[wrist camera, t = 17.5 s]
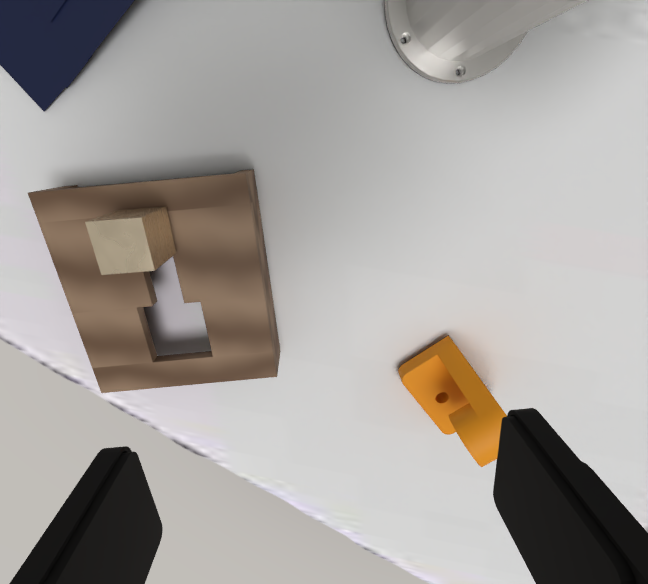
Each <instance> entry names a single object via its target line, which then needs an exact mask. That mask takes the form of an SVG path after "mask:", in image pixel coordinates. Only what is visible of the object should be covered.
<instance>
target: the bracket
mask: <svg viewBox="0 0 648 584" xmlns="http://www.w3.org/2000/svg"><path fill="white" fill-rule="evenodd" d="M398 372H399V375H400V378H401V380H402V383H403V385H404V386H405V387H406V388H407V390H408V391H409V392H410V393H411V394H412V396H413V397H414V398H415V399H416V401H417V402H418V403H419V404H420V405H421V407H422V408H423V409H424V410H425V412H426V413H427V414H428V415H429V417H430V418H431V419H432V420H433V421H434V423H435V424H436V425H437V426H438V428H439V429H440V430H441V431H442V432H443V433H444V434H453V433H455V432H457V434H458V436H459V437H460V439H461V440H462V442H463V443H464V445H465V447H466V448H467V450H468V451H469V452H470V454H471V455H472V457H473V458H474V459H475V461H476V462H477V463H478V464H479V465H480V466H481V467H483V466H485V465H487V464H488V463H490V462H492V461H494V460H496V459H497V456H498V448H499V439H500V431H501V422H502V418H503V417H507V415H506V414H505V413H504V411H503V410H502V408H501V407H500V406H499V404H498V403H497V401H496V400H495V399H494V397H493V396H492V395H491V393H490V392H489V390H488V389H487V388H486V386H485V385H484V384H483V382H482V381H481V379H480V378H479V377H478V375H477V374H476V372H475V371H474V370H473V368H472V367H471V366H470V364H469V363H468V361H467V360H466V359H465V357H464V356H463V355H462V353H461V352H460V350H459V349H458V348H457V346H456V345H455V344H454V342H453V341H452V339H451V338H450V337H449V335H448V336H447V337H445V338H444V339H442V340H440V341H439V342H437V343H436V344H434V345H433V346H431V347H429V348H428V349H426V350H425V351H423V352H422V353H420V354H418V355H417V356H415V357H414V358H412V359H411V360H409V361H407V362H406V363H404V364H403V365H401V366H400V368H399V370H398Z"/></svg>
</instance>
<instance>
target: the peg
mask: <svg viewBox="0 0 648 584" xmlns="http://www.w3.org/2000/svg"><path fill="white" fill-rule="evenodd" d="M85 224H86V227H87V230H88V233H89V236H90V240H91V243H92V246H93V249H94V253H95V256H96V259H97V262H98V266H99V269H100V272H101V275H107V274H120V273H133V272H145V271H155V270H156V269H157V268H159V267H160V266H161V265H162V264H163V263H165V262H166V261H167V260H168V259H170V258H171V257H172V256H173V255H174V254H176V248H175V244H174V239H173V235H172V230H171V226H170V221H169V217H168V212H167V208H166V207H154V208H141V209H128V210H118V211H115V212H112V213H109V214H106V215H103V216H100V217H98V218H95V219H92V220H89V221H86V222H85Z"/></svg>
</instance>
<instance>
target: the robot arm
mask: <svg viewBox="0 0 648 584" xmlns="http://www.w3.org/2000/svg"><path fill="white" fill-rule="evenodd" d="M586 1H588V0H385V16H386V21H387V27H388V31H389V33H390V36H391V39H392V42H393V44H394V46H395V48H396V49H397V51H398V53H399V55H400V56H401V58H402V59H403V60H404V61H405V62H406V63H407V64H408V65H409V67H410V68H412V69H413V70H414V71H416V72H417V73H418V74H420V75H421V76H423V77H425V78H428V79H430V80H432V81H436V82H441V83H462V82H466V81H470V80H474V79H476V78H478V77H481V76H483V75H485V74H487V73H489V72H490V71H492V70H494V69H495V68H497V67H498V66H499V65H500V64H502V63H503V62H504V61H505V60H506V59H507V58H509V56H510V55H511V54H512V53H513V52H514V50H515V49H516V48H517V47H518V46H519V45H520V43H521V41H522V40H523V38H524V37H525V35H526V33H527V32H528V31H529V30H531V29H533V28H535V27H537V26H539V25H541V24H543V23H545V22H547V21H549V20H551V19H552V18H554V17H556V16H558V15H560V14H562V13H564V12H566V11H568V10H570V9H572V8H574V7H576V6H578V5H580V4H582V3H584V2H586ZM401 38H405V39H406V43H405V44H402V43H401ZM456 70H458V71H459V76H457V75H456ZM493 496H494V501H495V504H496V507H497V509H498V511H499V513H500V515H501V517H502V519H503V521H504V523H505V525H506V527H507V528H508V530H509V532H510V534H511V536H512V538H513V540H514V542H515V544H516V546H517V548H518V550H519V552H520V554H521V555H522V557H523V559H524V561H525V563H526V565H527V567H528V569H529V571H530V573H531V575H532V577H533V579H534V581H535V582H536V584H648V533H647V532H646V530H645V529H644V528H643V527H642V526H641V525H640V524H639V522H638V521H637V520H636V519H635V518H634V517H633V516H632V514H631V513H630V512H629V511H628V510H627V509H626V508H625V506H624V505H623V504H622V503H621V502H620V501H619V500H618V498H617V497H616V496H615V495H614V494H613V493H612V492H611V490H610V489H609V488H608V487H607V486H606V485H605V483H604V482H603V481H602V480H601V479H600V478H599V477H598V475H597V474H596V473H595V472H594V471H593V470H592V469H591V468H590V467H589V466H588V465H587V464H586V463H584V462H582V461H580V460H579V458H578V457H577V456H576V455H575V454H574V453H573V451H572V450H571V449H570V448H569V447H568V446H567V444H566V443H565V442H564V441H563V440H562V439H561V437H560V436H559V435H558V434H557V433H556V432H555V430H554V429H553V428H552V427H551V426H550V425H549V423H548V422H547V421H546V420H545V419H544V418H543V416H542V415H541V414H540V413H539V412H538V411H537V410H536V409H534V408H529V409H519V410H510V411H509V412H508V415H507V417H503V418H502V422H501V431H500V439H499V448H498V456H497V465H496V473H495V482H494V490H493ZM161 537H162V523H161V520H160V517H159V514H158V511H157V509H156V506H155V503H154V500H153V497H152V494H151V492H150V489H149V486H148V483H147V480H146V477H145V474H144V472H143V469H142V466H141V463H140V460H139V457H138V455H137V453H136V452H132V451H131V450H130V448H129V447H115V448H104V449H102V450H101V451H100V452H99V453H98V454H97V456H96V457H95V459H94V460H93V461H92V463H91V465H90V466H89V468H88V469H87V470H86V472H85V473H84V475H83V476H82V478H81V479H80V481H79V482H78V484H77V485H76V487H75V488H74V490H73V491H72V493H71V494H70V495H69V497H68V498H67V500H66V501H65V503H64V504H63V506H62V507H61V509H60V510H59V512H58V513H57V515H56V516H55V518H54V519H53V521H52V522H51V523H50V525H49V526H48V528H47V529H46V531H45V532H44V534H43V535H42V537H41V538H40V540H39V541H38V543H37V544H36V546H35V547H34V549H33V550H32V552H31V553H30V555H29V556H28V557H27V559H26V561H25V562H24V563H23V565H22V566H21V568H20V569H19V571H18V572H17V574H16V575H15V577H14V578H13V580H12V581H11V582H10V584H145V581H146V578H147V576H148V573H149V570H150V568H151V565H152V562H153V560H154V557H155V554H156V552H157V549H158V546H159V544H160V541H161Z"/></svg>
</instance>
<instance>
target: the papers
mask: <svg viewBox="0 0 648 584" xmlns="http://www.w3.org/2000/svg"><path fill="white" fill-rule="evenodd" d="M133 2H134V0H0V65H1V66H2V67H3V68H4V69H5V70H6V71H7V72H8V73H9V75H10V76H11V77H12V78H13V79H14V80H15V81H16V82H17V83H18V84H19V85H20V86H21V87H22V88H23V90H24V91H25V92H26V93H27V94H28V95H29V96H30V97H31V98H32V99H33V100H34V101H35V102H36V103H37V105H38V106H39V107H40V108H41V109H42V110H43V111H45V110H46V109H47V108H48V107H49V105H50V104H51V103H52V102H53V101H54V100H55V99H56V97H57V96H58V95H59V94H60V93H61V92H62V91H63V89H64V88H65V87H66V88H67V87H68V86H69V85H70V84H71V82H72V81H73V80H74V78H75V77H76V76H77V75H78V73H79V72H80V71H81V69H82V68H83V67H84V66H85V64H86V63H87V62H88V61H89V59H90V58H91V57H92V54H93V53H94V52H95V50H96V49H97V48H98V46H99V45H100V44H101V43H102V41H103V40H104V39H105V37H106V36H107V35H108V34H109V32H110V31H111V30H112V28H113V27H114V26H115V25H116V23H117V22H118V21H119V19H120V18H121V17H122V16H123V14H124V13H125V12H126V10H127V9H128V8H129V7H130V5H131V4H132V3H133Z"/></svg>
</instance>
